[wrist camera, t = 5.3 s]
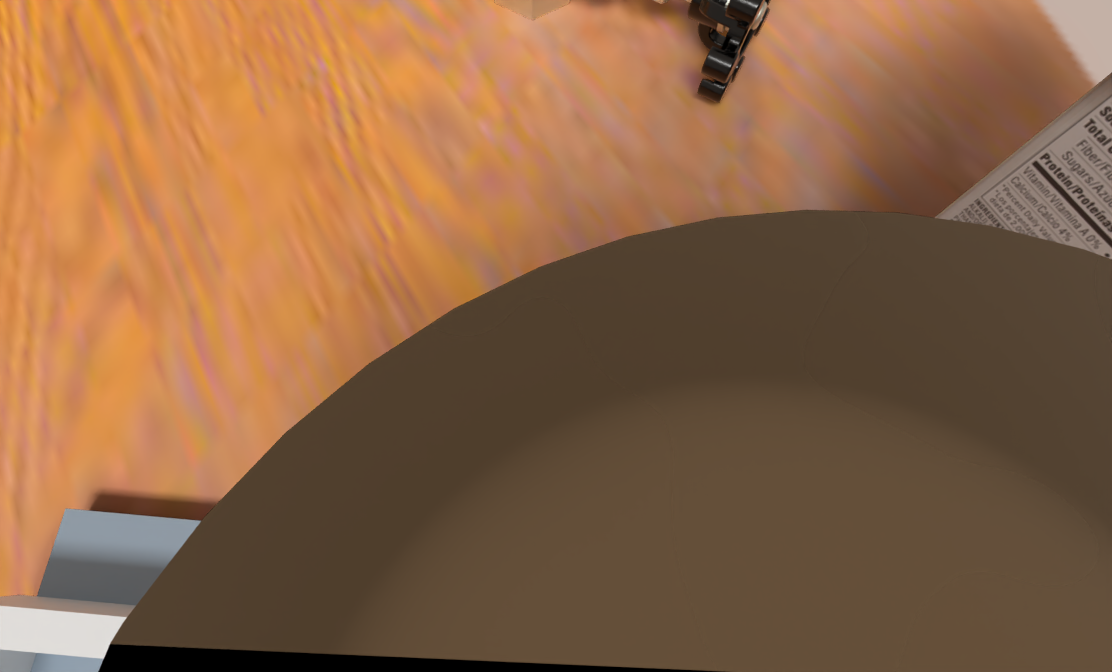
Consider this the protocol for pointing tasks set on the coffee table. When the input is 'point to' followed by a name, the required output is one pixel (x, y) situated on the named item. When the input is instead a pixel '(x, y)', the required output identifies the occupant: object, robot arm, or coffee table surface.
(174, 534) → the collar plate
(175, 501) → the coffee table surface
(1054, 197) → the cookie box
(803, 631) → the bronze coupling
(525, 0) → the valve
